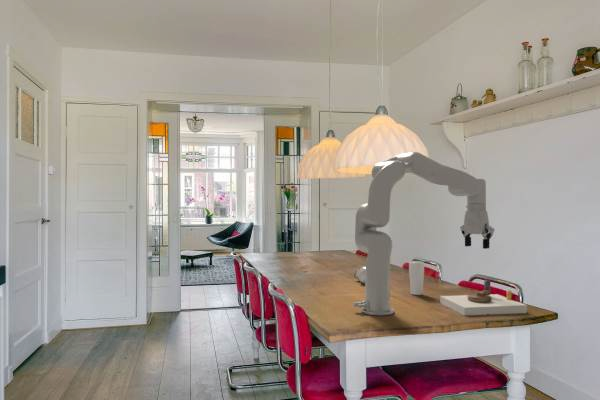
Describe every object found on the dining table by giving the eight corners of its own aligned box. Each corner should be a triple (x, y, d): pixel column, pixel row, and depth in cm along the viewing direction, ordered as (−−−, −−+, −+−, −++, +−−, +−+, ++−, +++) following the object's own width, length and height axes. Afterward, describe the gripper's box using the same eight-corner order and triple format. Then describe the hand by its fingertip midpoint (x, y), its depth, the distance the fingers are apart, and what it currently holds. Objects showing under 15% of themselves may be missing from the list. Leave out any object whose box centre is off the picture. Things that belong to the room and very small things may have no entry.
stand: (464, 315, 170) (464, 298, 170) (440, 303, 190) (440, 287, 190) (526, 312, 174) (526, 296, 174) (496, 301, 193) (497, 286, 193)
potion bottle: (369, 288, 226) (357, 286, 240) (383, 276, 229) (370, 275, 243) (359, 274, 225) (347, 273, 240) (372, 262, 228) (360, 261, 242)
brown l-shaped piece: (486, 303, 175) (487, 286, 175) (464, 300, 181) (464, 283, 181) (499, 297, 186) (499, 281, 186) (477, 294, 192) (477, 278, 192)
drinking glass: (412, 292, 212) (412, 260, 212) (426, 294, 207) (426, 261, 207) (406, 294, 206) (406, 262, 206) (420, 296, 202) (420, 263, 202)
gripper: (454, 207, 198) (455, 245, 198) (487, 208, 183) (487, 250, 183) (467, 207, 202) (467, 244, 202) (499, 207, 186) (500, 248, 186)
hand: (476, 247), depth 192 cm, fingers open, 9 cm apart
